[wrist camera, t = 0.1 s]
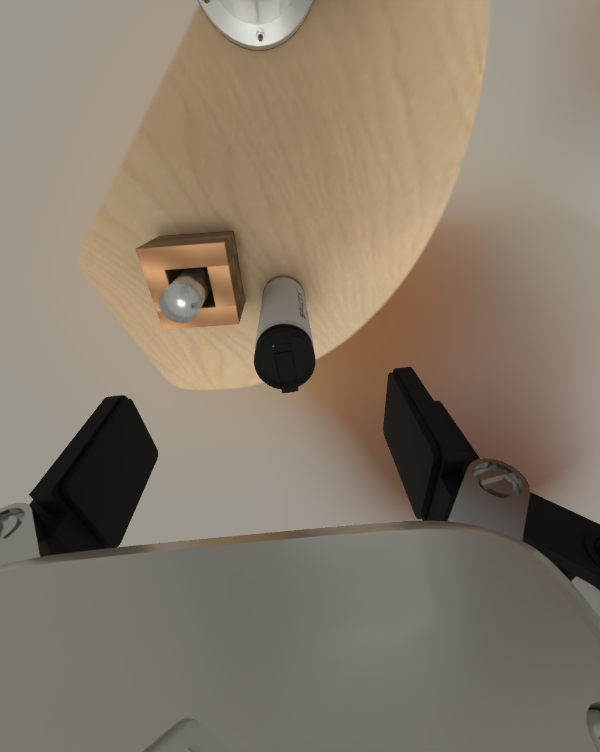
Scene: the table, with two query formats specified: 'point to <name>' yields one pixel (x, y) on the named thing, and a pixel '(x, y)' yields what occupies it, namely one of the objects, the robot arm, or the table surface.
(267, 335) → the travel mug
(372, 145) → the table surface
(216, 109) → the table surface
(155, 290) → the hole block
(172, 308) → the peg
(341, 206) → the table surface
